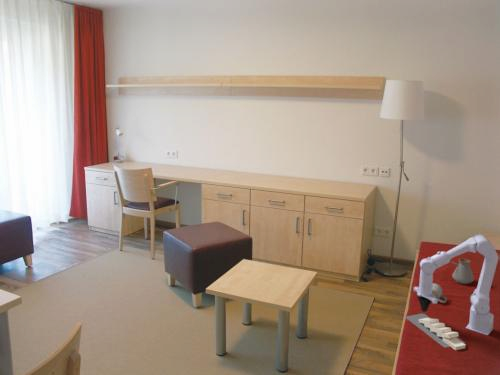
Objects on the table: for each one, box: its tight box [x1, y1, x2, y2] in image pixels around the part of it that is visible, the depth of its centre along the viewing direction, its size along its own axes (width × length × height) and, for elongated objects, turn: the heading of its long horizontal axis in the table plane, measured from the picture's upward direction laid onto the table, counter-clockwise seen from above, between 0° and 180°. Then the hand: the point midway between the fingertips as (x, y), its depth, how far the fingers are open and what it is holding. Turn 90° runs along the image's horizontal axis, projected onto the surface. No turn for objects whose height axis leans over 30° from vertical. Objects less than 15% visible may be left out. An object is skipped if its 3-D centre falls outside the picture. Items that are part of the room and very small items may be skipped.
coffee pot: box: [449, 258, 475, 285], centre depth 250 cm, size 21×12×15 cm, turn 72°
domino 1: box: [418, 317, 440, 324], centre depth 203 cm, size 2×5×8 cm
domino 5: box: [442, 337, 466, 351], centre depth 187 cm, size 2×5×8 cm
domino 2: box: [424, 322, 446, 329], centre depth 199 cm, size 2×5×8 cm
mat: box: [404, 312, 466, 349], centre depth 200 cm, size 28×11×1 cm, turn 16°
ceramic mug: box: [432, 282, 448, 304], centre depth 228 cm, size 11×8×8 cm
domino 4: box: [436, 331, 460, 338], centre depth 191 cm, size 2×5×8 cm
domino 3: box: [430, 326, 453, 333], centre depth 195 cm, size 2×5×8 cm
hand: (424, 310), depth 205 cm, fingers closed
